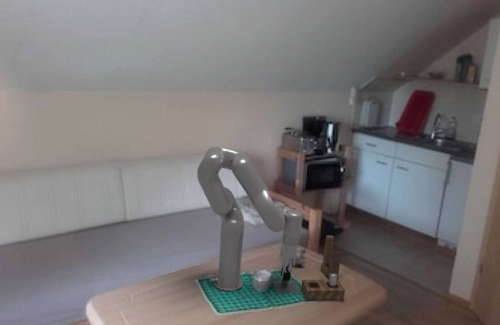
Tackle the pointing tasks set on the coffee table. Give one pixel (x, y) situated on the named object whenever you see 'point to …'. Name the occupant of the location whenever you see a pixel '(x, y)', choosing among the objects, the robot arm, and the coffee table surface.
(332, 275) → the seated peg
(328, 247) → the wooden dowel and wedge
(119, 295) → the coffee table surface
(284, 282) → the peg
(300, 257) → the gray elephant figurine
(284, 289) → the mat
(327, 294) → the hole block
